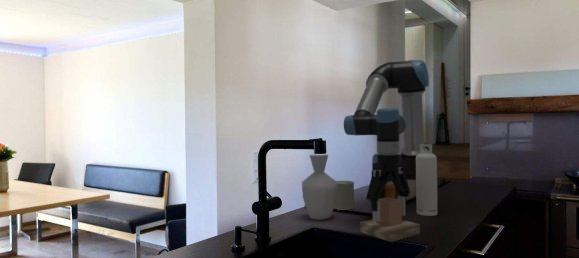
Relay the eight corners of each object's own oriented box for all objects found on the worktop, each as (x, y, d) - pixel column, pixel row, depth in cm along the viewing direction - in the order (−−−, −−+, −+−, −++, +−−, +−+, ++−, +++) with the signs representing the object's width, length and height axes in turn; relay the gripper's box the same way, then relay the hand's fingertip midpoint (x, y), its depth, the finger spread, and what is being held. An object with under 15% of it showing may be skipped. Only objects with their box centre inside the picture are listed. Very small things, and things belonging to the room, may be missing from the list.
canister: (396, 215, 157) (395, 165, 157) (394, 222, 147) (393, 169, 147) (373, 214, 160) (372, 165, 160) (369, 221, 150) (368, 168, 150)
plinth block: (359, 233, 136) (359, 222, 136) (388, 227, 144) (388, 216, 144) (391, 243, 124) (391, 231, 124) (420, 236, 132) (420, 224, 132)
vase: (318, 211, 168) (317, 152, 167) (345, 216, 158) (343, 154, 157) (294, 217, 158) (293, 155, 157) (321, 223, 148) (320, 157, 147)
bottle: (438, 211, 162) (437, 144, 162) (436, 216, 155) (435, 145, 155) (417, 210, 166) (416, 144, 165) (415, 214, 159) (414, 145, 158)
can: (345, 211, 166) (344, 183, 166) (329, 208, 173) (328, 181, 173) (358, 208, 172) (358, 180, 172) (342, 205, 179) (342, 178, 179)
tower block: (376, 222, 135) (375, 199, 134) (388, 219, 138) (388, 197, 138) (389, 226, 130) (389, 202, 129) (402, 223, 133) (401, 199, 133)
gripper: (371, 156, 124) (372, 225, 124) (420, 152, 137) (421, 214, 137) (354, 155, 130) (355, 221, 130) (403, 151, 143) (404, 210, 144)
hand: (389, 217), depth 134 cm, fingers open, 11 cm apart
